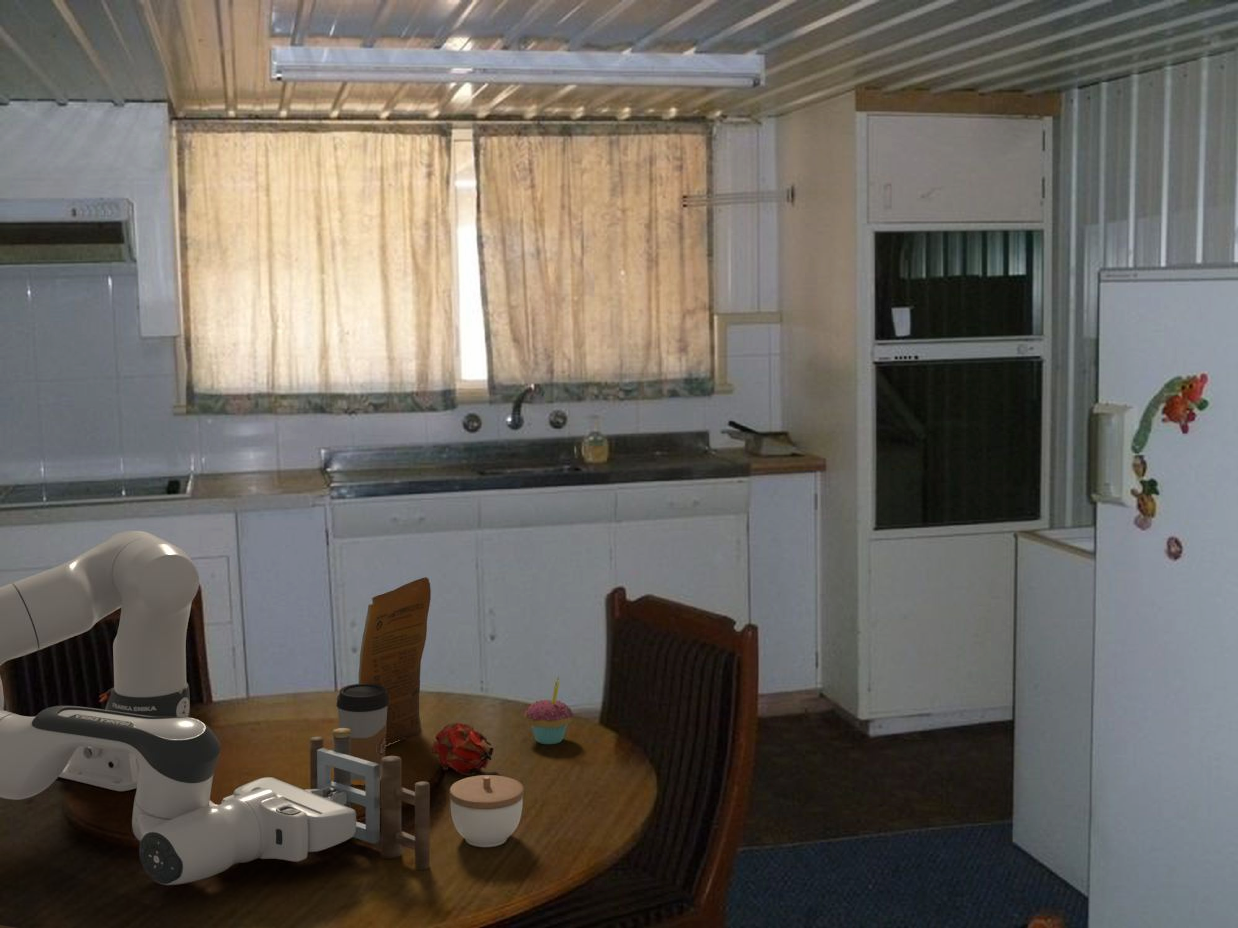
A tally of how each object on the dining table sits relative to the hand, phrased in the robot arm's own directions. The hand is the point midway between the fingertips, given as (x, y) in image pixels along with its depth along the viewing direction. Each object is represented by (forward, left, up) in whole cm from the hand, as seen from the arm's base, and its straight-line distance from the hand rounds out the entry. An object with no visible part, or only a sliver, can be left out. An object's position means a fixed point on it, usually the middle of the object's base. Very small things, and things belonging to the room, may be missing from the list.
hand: (338, 794), depth 196 cm
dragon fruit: (+7, +32, -7) cm, 33 cm away
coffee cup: (-7, +23, -7) cm, 25 cm away
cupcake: (+16, +50, -7) cm, 53 cm away
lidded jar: (+20, +7, -7) cm, 22 cm away
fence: (+4, +1, -7) cm, 8 cm away
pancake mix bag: (-10, +42, -7) cm, 43 cm away
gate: (+1, 0, -6) cm, 6 cm away
